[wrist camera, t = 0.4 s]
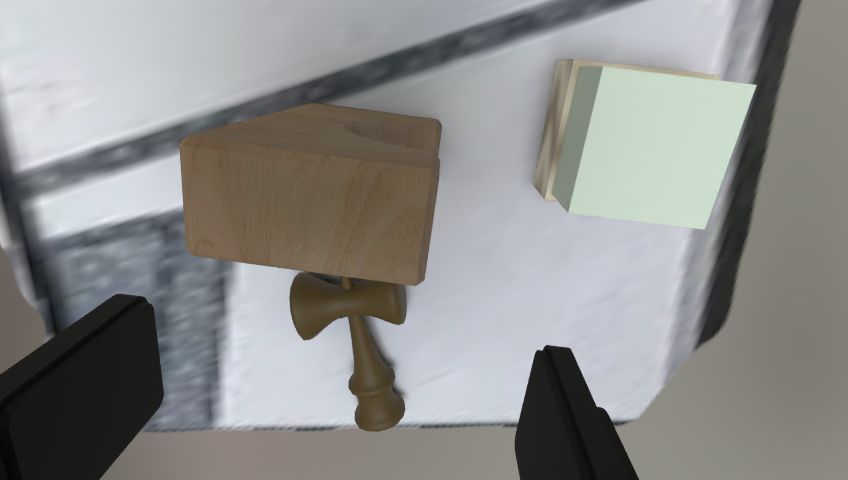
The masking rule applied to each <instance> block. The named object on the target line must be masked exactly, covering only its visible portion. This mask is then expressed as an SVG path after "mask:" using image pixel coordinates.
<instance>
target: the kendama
mask: <svg viewBox="0 0 848 480" xmlns="http://www.w3.org/2000/svg"><path fill="white" fill-rule="evenodd" d="M340 281H341V284H339V285H336V284H331V283H328V282H326V281H323V280H321V279H319V278H317V277H315V276H312V275H310V274H307V273H299V274H298V275H296V276H295V278H294V280H293V283H292V285H291V289H290V311H291V315H292V320H293V323H294V326H295V328H296V330H297V332H298V334H299V335H300V336H301V338H302V339H303V340H310V339H312V338H314V337H315V336H316V335H318V334H319V333H320V332H321V331H322V330H323V329H324V328H326V327H327V326H328V325H329V324H330V323H332V322H333V321H335V320H336V319H338V318H343V317H348V319H349V325H350V331H351V338H352V346H353V356H354V373H353V374H352V376H351V378H350V380H349V390H350V391H351V392H352V394H353V395H356V396H357V398H358V403H359V404H358V406H357V408H356V410H355V422H356V424H357V425H358V427H359V428H360V429H363V430H366V431H377V432H378V431H382V430H386V429H389V428H391V427H392V426H394V425H396V424H398V422H399V421H400V420H401V419H402V417H403V416H404V412H405V403H404V400H403V399H402V397H401V396H400V395H399V394H397V393H394V392H393V389H392V385H393V382H394V379H395V373H394V370H393V369H392V368H391V367H390V366H388V365H385V364H384V363H383V361H382V360H381V358H380V356H379V354H378V352H377V349H376V347H375V345H374V343H373V340H372V338H371V335H370V333H369V330H368V328H367V325H366V322H365V320H364V317H363V315H367V316H373V317H376V318H379V319H382V320H384V321H387V322H390V323H393V324H397V325H400V324H403V323H404V321H405V319H406V311H407V304H406V293H405V286H404V284H397V283H390V282H382V281H375V280H367V279H365V280H363V281H359V282H355V283H353V282H352V279H351V277H345V276H340Z"/></svg>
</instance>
